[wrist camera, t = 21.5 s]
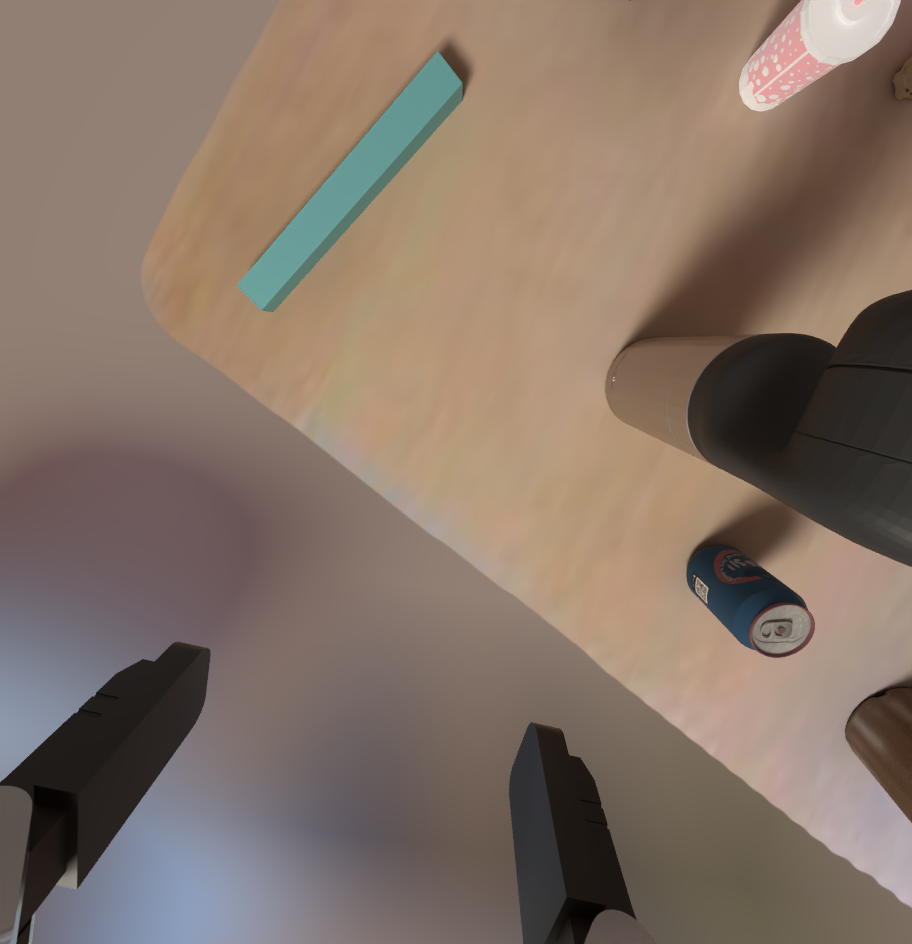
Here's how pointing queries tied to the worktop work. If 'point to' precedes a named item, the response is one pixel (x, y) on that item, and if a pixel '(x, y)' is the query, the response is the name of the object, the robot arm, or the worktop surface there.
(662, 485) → the worktop surface
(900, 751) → the plant pot
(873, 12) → the beverage cup
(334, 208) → the teal bar
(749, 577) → the soda can
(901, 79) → the handle
